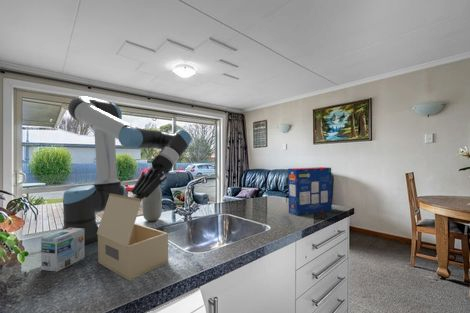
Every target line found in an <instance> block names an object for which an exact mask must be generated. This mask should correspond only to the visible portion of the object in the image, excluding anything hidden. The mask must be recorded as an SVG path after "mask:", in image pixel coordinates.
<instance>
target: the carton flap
mask: <svg viewBox="0 0 470 313" xmlns="http://www.w3.org/2000/svg"><path fill="white" fill-rule="evenodd" d="M141 203H142V199H139V198H133V197H132V196H128V195H127V196H122V195H116V194H111V193H110V194H109V198H108V201H107V204H106V207H105V210H104V211H103V213H102V216H101V219H100V221H99V224H98V227H99V228H98V231H97V234H98V235H101V236H103V237H105V238H108V239H110V240H112V241H115V242H117V243H119V244H122V245H124V246H128V244H129V241H130V237H131V234H132V231H133V227H134V224H136V220H137V217H138V213H139V209H140V206H141Z"/></svg>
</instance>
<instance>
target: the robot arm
mask: <svg viewBox="0 0 470 313" xmlns="http://www.w3.org/2000/svg"><path fill="white" fill-rule="evenodd" d="M67 110H68V113H69V115H70V116H71V118H72V119H74V120H75V121H78V122H79V123H82V124H88V125H90V129H91V130H93V133H94V134H93V135H94V147H95V148H94V149H95V161H96V162H95V163H96V181H94V183H93V185H92V184H89V185H80V186H75V187H72V188H69V189H67V190H65V191H64V193H63V196H62V197H63V198H62V204H63V205H62V207H63V208H62V209H63V212H62V215H63V226H62V228H61V231H62V230H65V229H67V228H81V229H84V242H85V245H89V244H92V243H94V242H96V241H98V234H97V231H98V228H99V224H98V223H97V220H96V218H97V217H96V215H97V214H96V213H100V212H104V210H105V207H106V204H107V201H108V198H109V194H110V193H111V194H116V195H122V196H127V197H128V193H127V189H126V188H125V185H123V184H122V181H121V180H120V179H118V174H117V173H118V171H117V158H116V154H117V153H116V142H115V141H116V139H117V140H118V142H119V143H120V145H121V146H123V147H126V148H131V149H159V150H160V151H159V152H158V154H157V155H156V156H155V157H154V159H153V160H152V161H151V167H150V168H149V169H148V171H146V172H145V171H142V172H141V174H140V176H139V178H138V180H137V181H136V182H135V184H134V186H133V187H132V189H131V190H130V191H131V193H132V195H131V197H133V198H139V199H143V198H144V197H146V198H147V197H148V196H149V195H150V194H151V193H152V192H153V191H154V190H155V189H156V188H157V187H158V186H159V185H160V186H161V184H162V183H163V182H164V181H166V180H167V178H168V177H167V176H166V175H168V174H169V173H170V172H171V170H172V169H173V167H174V166H175V165H176V163H177V162H178V160H179V159H180V158H181V156H182V155H183V153H185V151H186V150H187V149H188V147H189V146H190V144H191V143H192V140H193V139H192V136H191V134H190V133H189V132H188V131H187V130H185V129H181V128H180V129H179V130H177V131H175V132H174V133H171V132H165V131H160V130H156V129H145V128H141V127H138V126H136V125H133V124H131V123H129V122H127V121H125V120H122V119H123V114H122V111H121V110H122V109H121V108H120V107H119V106H118V105H117V104H116V103H114V102H110V101H108V100H102V99H98V98H93V97H90V96H77V97H74V98H73V99H72V100H70V102H69V103H68V106H67Z"/></svg>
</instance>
